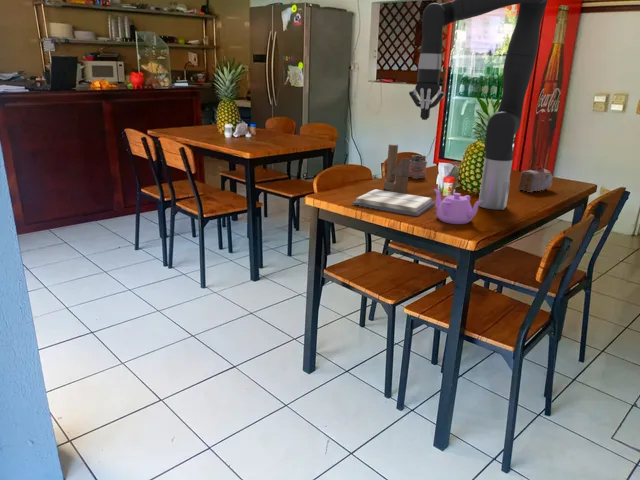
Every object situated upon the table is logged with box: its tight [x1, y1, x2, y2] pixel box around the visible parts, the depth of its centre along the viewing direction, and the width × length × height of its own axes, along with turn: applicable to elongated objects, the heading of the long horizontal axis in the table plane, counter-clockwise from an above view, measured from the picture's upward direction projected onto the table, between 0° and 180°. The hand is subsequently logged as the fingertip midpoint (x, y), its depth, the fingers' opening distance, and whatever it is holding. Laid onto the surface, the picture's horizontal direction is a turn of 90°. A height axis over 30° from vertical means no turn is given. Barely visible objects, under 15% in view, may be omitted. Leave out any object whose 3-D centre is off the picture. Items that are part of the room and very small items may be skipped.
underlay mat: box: [352, 200, 436, 217], centre depth 177 cm, size 24×18×1 cm
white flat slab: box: [355, 193, 424, 212], centre depth 173 cm, size 22×8×2 cm, turn 61°
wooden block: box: [383, 143, 411, 194], centre depth 193 cm, size 4×11×18 cm, turn 29°
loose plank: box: [365, 188, 433, 207], centre depth 180 cm, size 22×8×2 cm, turn 61°
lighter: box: [408, 154, 428, 179], centre depth 221 cm, size 8×3×10 cm, turn 81°
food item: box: [517, 166, 554, 193], centre depth 205 cm, size 14×8×10 cm, turn 125°
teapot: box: [433, 188, 483, 225], centre depth 161 cm, size 12×14×9 cm
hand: (424, 119), depth 177 cm, fingers closed
